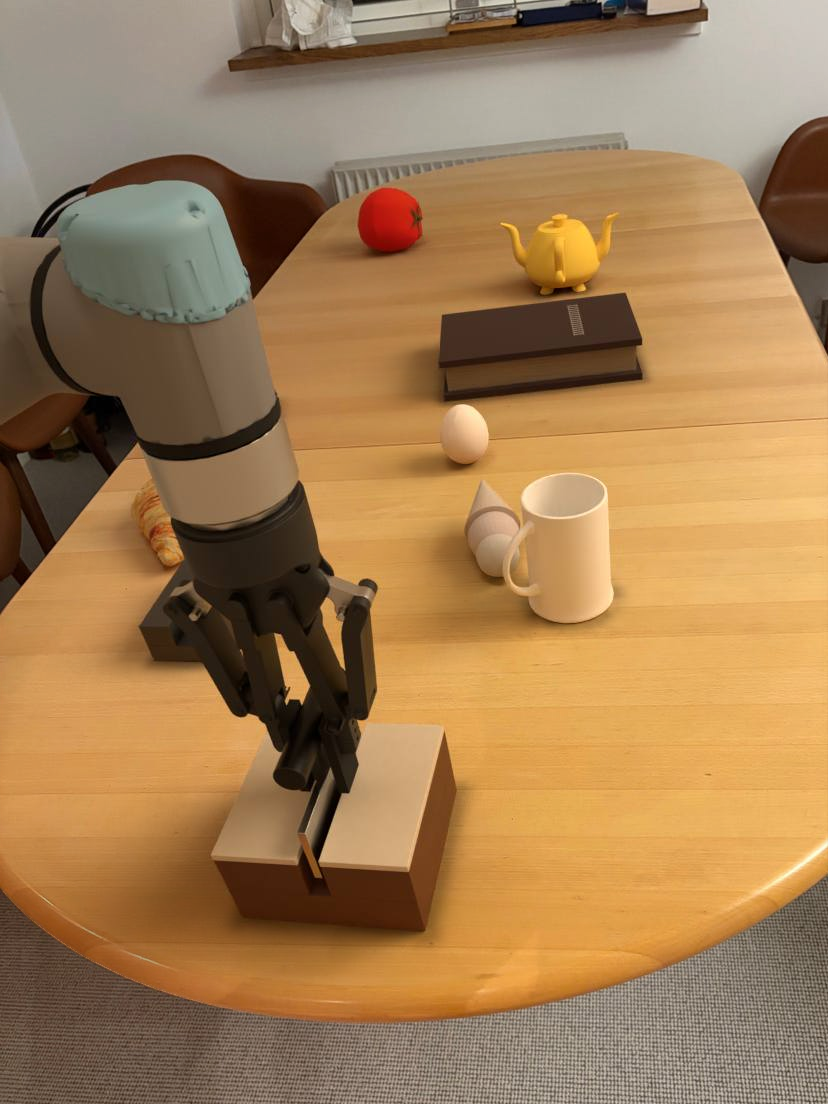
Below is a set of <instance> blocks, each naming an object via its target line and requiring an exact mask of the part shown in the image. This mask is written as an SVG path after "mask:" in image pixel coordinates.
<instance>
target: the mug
mask: <svg viewBox="0 0 828 1104" xmlns="http://www.w3.org/2000/svg"><path fill="white" fill-rule="evenodd" d="M608 495H609V493H608V489H607V487H606V485H605V484H604V483H603V481H602V480H600V479H598V478H596V477H594V476H591V475H588V474H585V473H578V472H560V473H554V474H550V475H546V476H543V477H540V478H537V479H536V480H534V481H532V482H531V483H529V484H528V485H526V487H524V489H523V490H522V492H521V495H520V509H521V518H522V527H520V530H519V531H518V532H517V533H516V534H515V536H514V537H513V539H512V540H511V542H510V543H509V545H508V547H507V550H506V552H505V555H504V560H503V579H504V582H505V584H506V586H507V587H508V588H509V590H511V591H512V592H513V593H515V594H517V595H519V596H522V597H528V604H529V606H530V608H531V610H532V611H533V612H534V613H535V614H536V615H538V616H539V617H541V618H542V619H545V620H547V621H549V622H553V623H558V624H559V623H560V624H573V623H574V624H577V623H582V622H587V621H589V620H593V619H595V618H597V617H599V616H600V615H602V614H603V613H604V612H606V611H607V610H608V609H609V608H610V606H611V604H612V603H613V600H614V596H615V595H614V594H615V593H614V587H613V585H612V578H611V553H610V552H611V551H610V523H609V496H608ZM523 541H524V546H525V547H524V548H525V557H526V565H527V566H526V567H527V574H528V575H527V576H528V586H518V585H516V584H514V582H513V580H512V578H511V573H509V568H510V562H511V559H512V556H513V554H514V552H515V550H516V548H517V547H518V545H519V544H521V543H522V542H523ZM519 546H520V545H519ZM518 548H519V547H518Z"/></svg>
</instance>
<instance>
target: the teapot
mask: <svg viewBox="0 0 828 1104" xmlns="http://www.w3.org/2000/svg"><path fill="white" fill-rule="evenodd" d="M620 213H621V212H620V211H618V212H615V213H611V214H609V215H607V216H606V217H605V218H604V220H603V222H602V228H601V229H602V230H601V231H602V233H601V237H600V239H599V241H598V242H596V241H595V239H594V237H593V235H592V234H591V232H590V230H589V229H588V228H587V226H586V225H585V224H584V223H583V222H582V221H581V220H578V219H573V218H568V214H565V213H558V214H554V215H552V216H551V220H549V221H546V222H544V223H541V224H540V225H538V227H537V228H536V230H535V232H534V233H533V235H532V237H531V239H530V242H529V245H528V247H527V249H526V248H525V247H524V246H523V245H522V244H521V240H520V234H519V231H518V229H517V228H516V226H514V225H513V224H510V223H505V222H500V225H501V226H502V227H504V228H505V229H506V230H507V232H508V233H509V236H510V240H511V245H512V246H511V247H512V254H513V257H514V259H515V261H516V263H518V265H519V266H521V267H522V268H524V273H525V275H526V276H527V277H528V278H529V280H530V281H531V282H533V283H534V284H535V285H537V286H539V287H541V289H540V292H539V294H541V295H551V294H553V293H554V291H555V290H554V289H559V288H561V289H562V288H570V287H571V290H572V292H575V293H580V292H584V291H586V290H587V287H586V286H585V284H584V283H586V282H588V281H589V280H592V278H593V277H594V275H595V274H596V273H597V271H598V270H599V268H600V266H601V262H602V261H603V260H604V259H605V258H606V256H607V255H608V254H609V251H610V247H611V230H612V225H613V223H614V220H615V219H616V217H618V215H620Z"/></svg>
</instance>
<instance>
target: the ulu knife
mask: <svg viewBox="0 0 828 1104" xmlns="http://www.w3.org/2000/svg"><path fill="white" fill-rule="evenodd" d="M341 668H342V670H343V672H344V675H345V677H346V673H345V668H343V667H342V666H341ZM301 705H302V706H301V708H300V711H299V713H298V715H297V718H296V720H295V722H294V725H293V727H292V730H291V732H290V734H289V737H288V739H287V741H286V744H285V746H284V748H283V751H282V753H281V755H280V758H279V760H278V763H277V765H276V767H275V770H274V772H273V779H274V781H275V782H276V783H277V784H278V785H279V786H281V787H283V788H285V789H288V790H300V789H302V788H304V787H305V785H306V783H307V780H308V778H309V775H310V773H311V771H312V773H313V776H314V779H315V780H316V783H315V786H314V789H313V791H312V794H311V797H310V799H309V802H308V805H307V807H306V810H305V813H304V815H303V818H302V821H301V823H300V826H299V829H298V831H297V835H298V837H299V840H300V842H301V845H302V847H303V850H304V852H305V855H306V857H307V860H308V862H309V865H310V867H311V870H312V872H313V875H314V877H315V878H323V872H322V870H321V867H320V865H319V859H320V856H321V853H322V850H323V847H324V844H325V841H326V838H327V835H328V832H329V829H330V826H331V824H332V821H333V818H334V815H335V812H336V809H337V806H338V803H339V800H340V797H341V794H342V793H339V791H338V788H337V785H336V782H335V779H334V776H333V773H332V770H331V767H330V764H329V761H328V758H327V755H326V752H325V749H324V746H323V743H322V739H321V737H320V734H319V731H318V727H319V725H320V722H321V720H322V717H323V712H322V710H321V708H320V706H319V704H318V702H317V699H316V697H315V695H314V693H313V691H312V689H311V687H310V686H309V688H308V690H307V692H306V694H305V697H304V699H303V701H302V703H301ZM360 739H361V738H360ZM359 742H360V741H359ZM358 745H359V744H358ZM357 748H358V747H357ZM356 751H357V750H356Z"/></svg>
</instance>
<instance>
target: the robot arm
mask: <svg viewBox="0 0 828 1104" xmlns="http://www.w3.org/2000/svg"><path fill="white" fill-rule="evenodd" d="M55 231H56V237H33V236H32V237H31V236H30V237H27V236H4V235H2V234H0V426H2V425H4V424H5V423H7V422H8V421H10V420H11V419H13V418H14V417H16V416H18V415H19V414H21V413H22V412H24V411H26V410H27V409H29V408H30V407H32V406H33V405H35V404H37V403H38V402H40V401H41V400H43V399H44V398H47V397H48V396H51V395H55V394H73V395H82V396H83V395H84V396H93V397H94V396H95V397H118V398H119V399H120V401H121V404H122V406H123V408H124V410H125V412H126V414H127V416H128V418H129V420H130V423H131V424H132V430H133V433H134V436H135V439H136V442H137V444H138V445H139V448H140V451H141V452H142V455H143V458H144V460H145V461H144V462H145V464H146V466H147V468H148V471H149V474H150V477H151V479H153V482H154V484H155V487H156V489H157V492H158V495H159V497H160V500H161V502H162V505H163V508H164V510H165V511H166V512H167V513H168V514H169V515H170V517H171V526H172V529H173V531H174V534H175V536H176V539H177V541H178V544H179V546H180V549H181V551H182V554H183V556H184V559H185V561H186V564H187V566H188V568H189V570H190V572H191V573H192V574H193V575H194V577H193V581H190V580H186V579H183V580H181V581H180V582H179V583H178V584H177V586H176V588H175V589H174V591H173V592H172V594H171V595H170V597H169V598H168V600H167V601H166V603H165V604H164V606H163V611H164V613H165V614H166V615H167V616H168V617H169V618H170V619H171V620H172V621H173V622H174V623H175V624H176V625H177V626H178V627H179V628H180V629H181V630H182V631H183V632H184V633H185V634H186V635H187V637H188V639H189V641H190V642H191V644H192V646H193V647H194V649H195V651H196V653H197V654H198V656H199V658H200V659H201V661H200V662H201V663H202V665H203V666H204V669H205V670H206V671H207V673H208V675H209V677H210V679H211V680H212V682H213V684H214V685H215V688H216V689H217V691H218V693H219V694H220V697H222V699H223V701H224V702H225V703H224V704H225V705H226V706H227V707H228V709H229V712H230V713H231V714H232V715H234V716H235V717H237V718H246V717H247V716H248V715H251V716H255V717H257V718H258V720H259V721H260V722H261V723H262V724H264V725H265V728H266V732H267V731H268V733H269V736H270V738H271V741H272V744H273V746H274V748H275V749H276V750H277V751H278V752H282V751H283V748H284V746H285V744H286V741H287V739H288V737H289V734H290V732H291V730H292V727H293V725H294V722H295V720H296V718H297V715H298V713H299V711H300V708H301V706H302V702H301V699H296V698H289V699H288V702H287V703H286V700H287V697H288V695H289V693H290V691H291V686H288V687H287V685H286V682H285V679H284V674H283V669H282V663H281V659H280V655H279V649H278V644H277V640H276V635H280V636H281V638H282V641H283V642H284V644H285V646H286V649H287V650H288V652H293V653H294V654H295V657H296V659H297V661H298V663H299V666H300V667H301V670H302V672H303V674H304V676H305V678H306V681H307V682H308V684H309V687H311V689H312V691H313V693H314V695H315V697H316V699H317V702H318V704H319V706H320V708H321V710H322V712H323V717H322V720H321V722H320V725H319V727H318V731H319V734H320V737H321V739H322V743H323V746H324V749H325V752H326V755H327V758H328V761H329V764H330V767H331V770H332V773H333V776H334V779H335V782H336V785H337V788H338V791H339V793H346V794H349V793H350V790H351V787H352V784H353V781H354V778H355V775H356V772H357V769H358V766H359V763H358V760H357V756H356V750H357V747H358V744H359V741H360V738H361V736H362V731H361V729H360V725H359V722H358V721H360V722H361V721H366V720H367V719H368V718H369V716H370V713H371V710H372V708H373V705H374V701H375V698H376V696H377V693H378V682H377V671H376V661H375V660H376V659H375V650H374V649H375V648H374V639H373V627H372V626H373V625H372V616H371V608H372V606H373V603H374V600H375V598H376V595H377V593H378V590H379V586H378V584H377V583H376V581H374V580H373V579H371V578H362V579H360V581H359V582H358V583H357V584H356V583H353V582H351V581H348V580H345V579H343V578H340V577H338V576H335V571H334V569H333V567H332V565H331V564H330V563H329V562H328V560H326V559H325V557H324V555H323V554H322V553H321V550H320V545H319V538H318V532H317V529H316V526H315V521H314V518H313V515H312V510H311V507H310V503H309V499H308V497H307V493H306V489H305V486H304V484H303V483H302V482H301V480H299V479H300V469H299V465H298V462H297V459H296V455H295V452H294V451H295V450H294V448H293V444H292V442H291V441H292V440H291V437H290V434H289V431H288V426H287V424H286V421H285V420H286V419H285V416H284V413H283V410H282V406H281V403H280V398H279V399H278V397H279V395H278V392H277V391H276V389H275V385H274V382H273V378H272V375H271V371H270V367H269V363H268V359H267V354H266V350H265V345H264V341H263V337H262V333H261V328H260V324H259V321H258V316H257V312H256V307H255V303H254V299H253V296H252V290H251V285H252V284H251V280H250V277H249V272H248V270H247V269H246V267H245V266H244V265H243V262H242V259H241V257H240V254H239V251H238V248H237V245H236V241H235V239H234V237H233V234H232V231H231V228H230V225H229V223H228V219H227V217H226V214H225V210H224V209H223V206H222V205H221V203H220V201H219V199H218V198H217V197H216V196H215V195H214V194H213V192H211V191H210V190H209V189H208V188H206V187H204V186H203V185H200V184H198V183H196V182H192V181H187V180H157V181H152V182H150V183H142V184H135V183H134V184H127V185H124V186H119V187H114V188H111V189H108V190H107V189H106V190H103V191H101V192H97V193H94V194H91V195H87V196H85V197H84V198H81V199H78V200H77V201H75V202H73V203H71V204H69V206H67V207H66V208H65V209H64V210H63V211H62V212H61V213H60V214H59V215H58V217H57V221H56V223H55ZM326 599H329V600H330V601H331V602H332V603H333V607H334V609H333V610H334V613H335V614H336V616H335V618H336V620H337V621H338V622H340V623H342V625H341V630H340V638H341V646H342V647H341V649H342V655H343V664H344V670H345V673H346V677H345V675H344V672H343V670H342V668H343V667H342V665H341V662H340V661H339V658H338V656H337V654H336V652H335V649H334V647H333V645H332V643H331V640H330V637H329V636H328V633H327V631H326V628H325V626H324V614H323V612H322V609H321V607H322V605H323V604H324V602H325V600H326ZM220 613H221V614H222V615H223V616H225V617H226V618H227V619H228V620H230V621H231V625H232V629H233V633H234V637H235V640H234V638H233V636H232V634H231V633H230V631H229V629H228V627H227V625H226V623H225V622H224V620H223V618H222V616H221V614H220ZM235 641H236V642H235ZM341 667H342V668H341ZM314 781H315V779H314V776H313V773H312V771H311V773H310V775H309V778H308V780H307V783H306V785H305V787H304V788H302V789H300V791H302V792H311V789H312V787H313V784H314Z"/></svg>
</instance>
